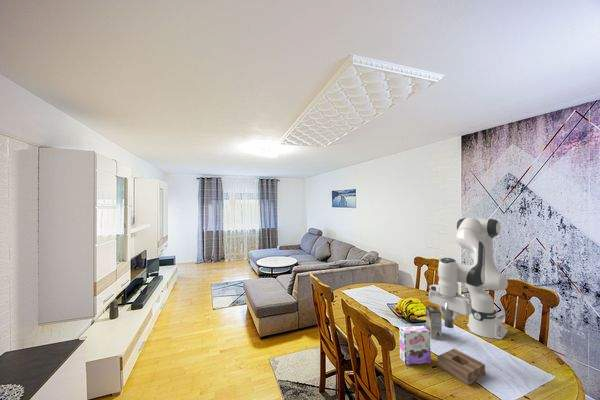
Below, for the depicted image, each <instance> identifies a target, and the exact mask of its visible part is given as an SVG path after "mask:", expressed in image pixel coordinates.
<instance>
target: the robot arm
mask: <svg viewBox="0 0 600 400" xmlns="http://www.w3.org/2000/svg"><path fill="white" fill-rule="evenodd" d="M456 230H457V231H456V234H455V242H456V243H457V244H458V245H459V247H461V248H463V249H465V250H467V251H469V252H470V258H471V260H472V261H473V264H463V263H460V262H459V263H458V262H457V260H456V259H454V258H451V257H443V258H440V259H439V261H438V267H437V277H438V282H437V283H436V284H431V285H429V291H428V301H429V302H430V303H432V304H434V305H435V306H438V307H439V308H438V309H439V311H440V312H441V316H444V307H445V304H444V303H447V304H448V309H449V310H452V311H453V315H452V319H453V320H454V321H456V320H457V317H458V315H459V314H460V315H463V316H465V317H468V323H466V326H467V327H468V328H469V331H470V332H472V333H473V334H475V335H478V336H480V337H483V338H488V339H495V340H503V339H504V337H505V336H506V335H507V334H508V332H509V330H508V329H507V328H505V327H503V326H504V325H503V321H502V319H499V318H498V317H497V316H496V315H497V314H498V312H499V311H498V310H497V309H495V307H494V306H495V305H494V298H493V296H491V294H489V293H488V292H486V291H485V289H487V290H491V291H497V292H498V291H499V292H500V291H501V292H502V291H505V290H506V289H507V288H508V285H509V282H508V281H509V280H508V278H507V276H505V275H504V274H503V272H501V271H499V269H498V268H497V266H496V264H495V262H494V261H495V260H494V240H493V239H494V238H495V237H497V236H498V235H499V234H500V232H501V223H500V222H499V221H498V220H497V219H494V218H484V217H483V218H482V217H466V218H465V217H463V218H460V219H459V220H458V221H457V222H456ZM459 283H462V284H464V286H465V287H466V288H467V290H468V293H469V294H470V295H469V296H470V298H469V297H468V296H467V295H464V294H462V293H459V292H460V291H459Z"/></svg>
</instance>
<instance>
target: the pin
mask: <svg viewBox="0 0 600 400" xmlns="http://www.w3.org/2000/svg"><path fill="white" fill-rule="evenodd" d="M444 304H445V307H444V315H443V317H444V319H443V320H444V323H443V324H444V327H445V328H447V329H454V328H455V325H454V323H455V322H454V321H455V320H453V319H452V315H454V311H452V310H449V309H448V304H447V303H444Z"/></svg>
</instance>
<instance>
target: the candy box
mask: <svg viewBox="0 0 600 400" xmlns="http://www.w3.org/2000/svg"><path fill="white" fill-rule="evenodd" d="M398 329H399V330H398V334H399V336H398V337H399V339H398V340H399V341H398V343H399V359H400V360H401V362H402V363H403V364H404V365H405V366H410V365H424V364H425V365H426V364H431V363H432V360H431V359H432V357H431V355H432V354H431V352H432V351H431V337H430V331H429V330H428V329H427V328H426V327H425V325H416V326H414V325H413V326H399V327H398Z"/></svg>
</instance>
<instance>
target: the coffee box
mask: <svg viewBox="0 0 600 400" xmlns="http://www.w3.org/2000/svg"><path fill="white" fill-rule="evenodd" d="M425 325H426V327H425V328H427V329H428V330H429V331H430V340H431V339H434V340H443V336H442V335H443V332H442V331H443V330H442V327H443V326H442V313H441V310H440V308H438V307H437V305H425Z"/></svg>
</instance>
